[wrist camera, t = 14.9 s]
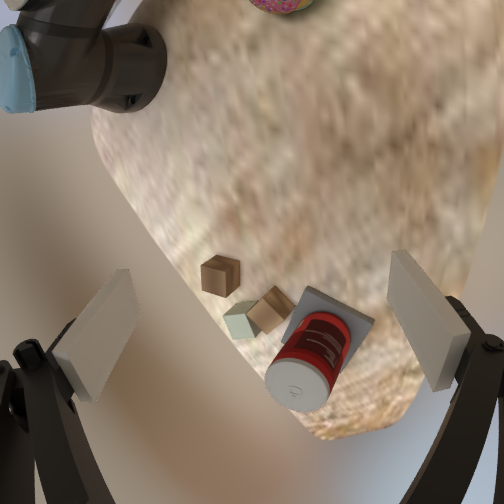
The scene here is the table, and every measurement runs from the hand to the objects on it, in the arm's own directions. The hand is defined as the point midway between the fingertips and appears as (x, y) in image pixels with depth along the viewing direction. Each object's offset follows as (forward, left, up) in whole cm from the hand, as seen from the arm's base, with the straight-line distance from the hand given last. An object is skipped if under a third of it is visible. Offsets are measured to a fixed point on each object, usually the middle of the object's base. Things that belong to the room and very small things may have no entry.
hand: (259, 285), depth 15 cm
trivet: (+4, -19, -24) cm, 31 cm away
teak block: (-4, -19, -24) cm, 31 cm away
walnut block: (-12, -18, -24) cm, 32 cm away
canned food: (+4, -19, -23) cm, 30 cm away
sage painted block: (-7, -23, -24) cm, 34 cm away
